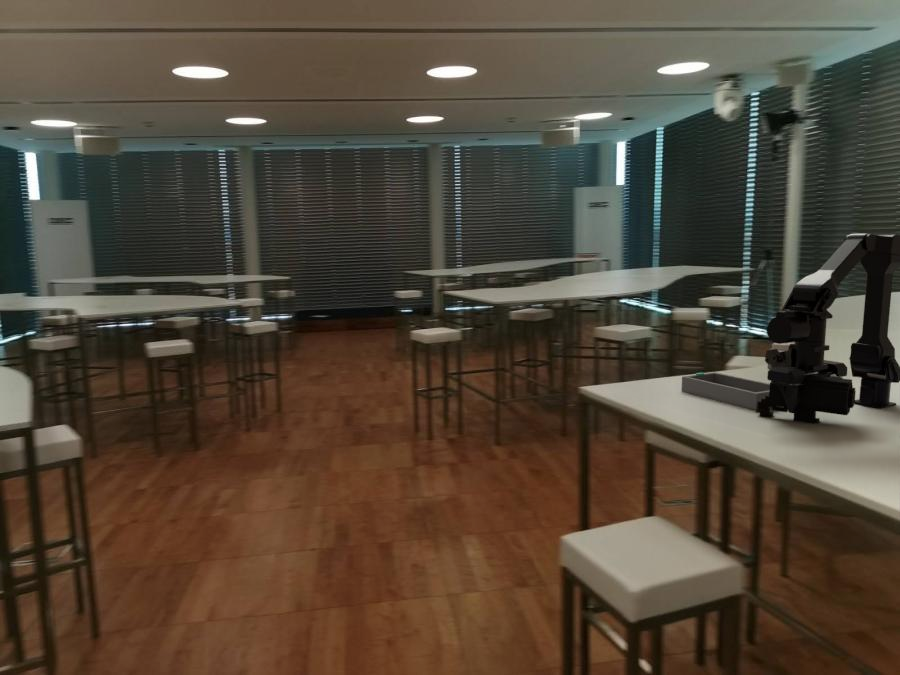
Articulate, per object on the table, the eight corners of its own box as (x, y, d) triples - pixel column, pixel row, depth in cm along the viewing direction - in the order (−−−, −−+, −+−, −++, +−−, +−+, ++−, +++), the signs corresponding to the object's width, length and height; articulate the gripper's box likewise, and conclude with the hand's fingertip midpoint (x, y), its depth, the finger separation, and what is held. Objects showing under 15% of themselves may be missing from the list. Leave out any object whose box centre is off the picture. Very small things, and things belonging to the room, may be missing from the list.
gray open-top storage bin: (713, 386, 172) (714, 370, 172) (789, 404, 152) (790, 386, 151) (681, 391, 167) (682, 375, 167) (755, 410, 147) (756, 392, 146)
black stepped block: (761, 410, 146) (763, 369, 144) (854, 424, 134) (857, 378, 132) (753, 417, 141) (755, 374, 139) (848, 432, 129) (852, 385, 127)
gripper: (803, 332, 146) (799, 397, 148) (747, 338, 138) (744, 407, 140) (851, 338, 136) (846, 408, 138) (794, 345, 128) (789, 419, 130)
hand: (805, 410), depth 137 cm, fingers open, 9 cm apart
